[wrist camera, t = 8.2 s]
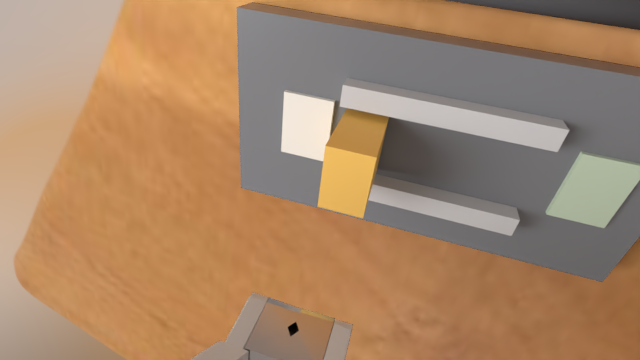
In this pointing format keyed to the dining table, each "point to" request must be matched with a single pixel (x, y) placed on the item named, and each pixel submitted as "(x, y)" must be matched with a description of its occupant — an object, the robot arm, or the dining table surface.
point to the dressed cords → (574, 9)
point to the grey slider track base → (449, 134)
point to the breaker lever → (351, 162)
